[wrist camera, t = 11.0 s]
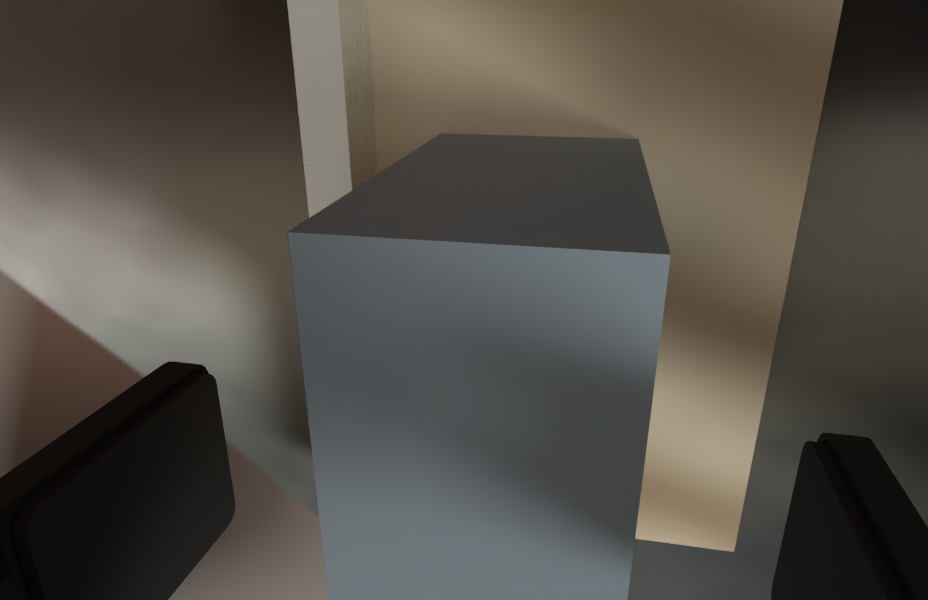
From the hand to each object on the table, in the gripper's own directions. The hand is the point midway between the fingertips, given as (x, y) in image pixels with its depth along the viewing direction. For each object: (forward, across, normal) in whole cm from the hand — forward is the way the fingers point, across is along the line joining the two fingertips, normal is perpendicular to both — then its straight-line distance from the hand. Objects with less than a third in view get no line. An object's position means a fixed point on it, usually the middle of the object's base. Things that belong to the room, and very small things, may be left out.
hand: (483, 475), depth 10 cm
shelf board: (+10, 0, 0) cm, 10 cm away
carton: (+8, 0, -1) cm, 9 cm away
